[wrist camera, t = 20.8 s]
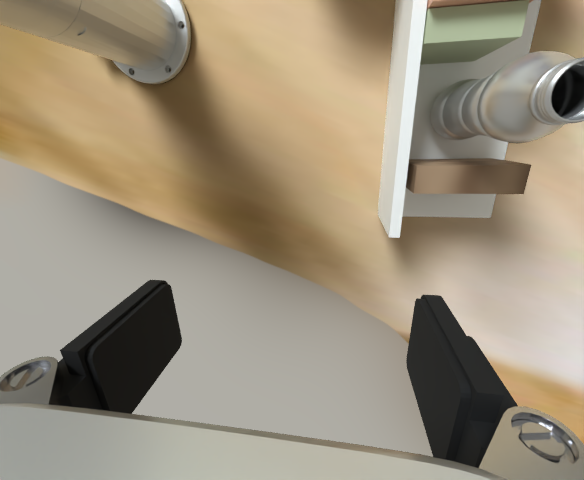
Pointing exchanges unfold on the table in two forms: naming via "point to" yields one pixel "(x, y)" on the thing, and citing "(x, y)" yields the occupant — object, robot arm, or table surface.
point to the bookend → (466, 176)
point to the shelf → (432, 82)
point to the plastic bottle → (514, 100)
